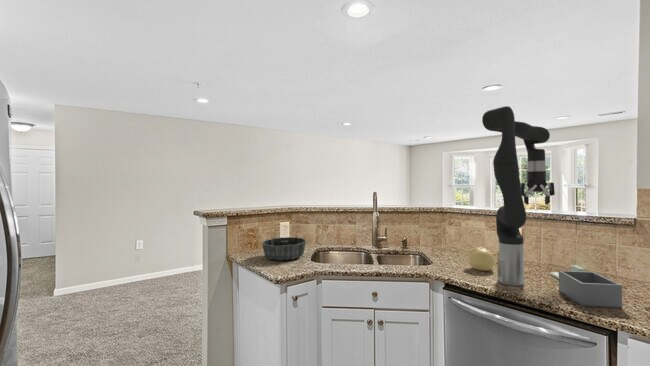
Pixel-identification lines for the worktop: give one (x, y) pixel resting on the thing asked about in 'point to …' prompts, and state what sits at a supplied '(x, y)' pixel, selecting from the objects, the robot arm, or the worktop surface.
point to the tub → (590, 289)
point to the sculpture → (481, 259)
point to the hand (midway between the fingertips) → (536, 204)
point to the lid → (573, 268)
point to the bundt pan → (284, 248)
